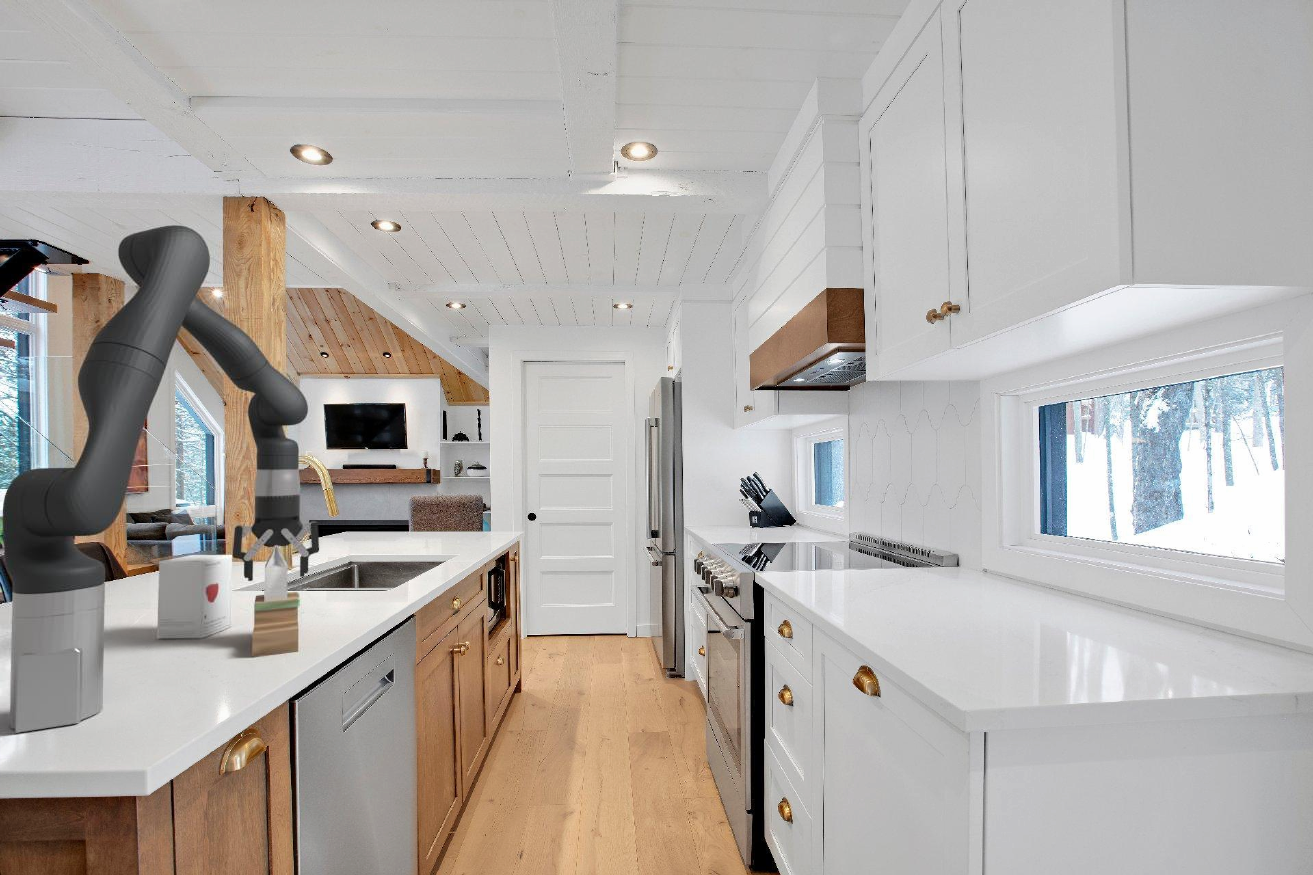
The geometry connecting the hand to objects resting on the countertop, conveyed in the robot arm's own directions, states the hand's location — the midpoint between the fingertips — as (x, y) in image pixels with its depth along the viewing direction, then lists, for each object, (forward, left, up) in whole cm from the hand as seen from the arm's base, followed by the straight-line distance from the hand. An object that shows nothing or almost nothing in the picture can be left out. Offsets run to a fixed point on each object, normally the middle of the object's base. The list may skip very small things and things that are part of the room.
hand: (276, 578), depth 126 cm
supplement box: (+14, +14, -12) cm, 23 cm away
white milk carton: (0, 0, -4) cm, 4 cm away
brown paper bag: (-4, 0, -12) cm, 12 cm away
